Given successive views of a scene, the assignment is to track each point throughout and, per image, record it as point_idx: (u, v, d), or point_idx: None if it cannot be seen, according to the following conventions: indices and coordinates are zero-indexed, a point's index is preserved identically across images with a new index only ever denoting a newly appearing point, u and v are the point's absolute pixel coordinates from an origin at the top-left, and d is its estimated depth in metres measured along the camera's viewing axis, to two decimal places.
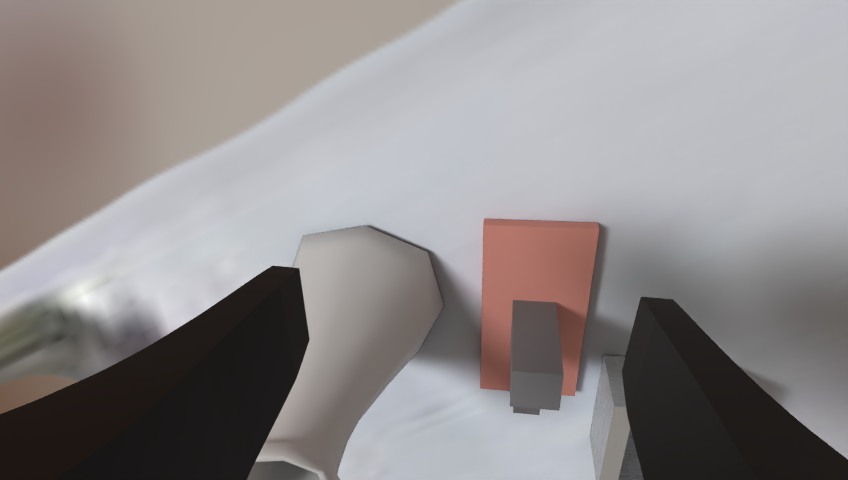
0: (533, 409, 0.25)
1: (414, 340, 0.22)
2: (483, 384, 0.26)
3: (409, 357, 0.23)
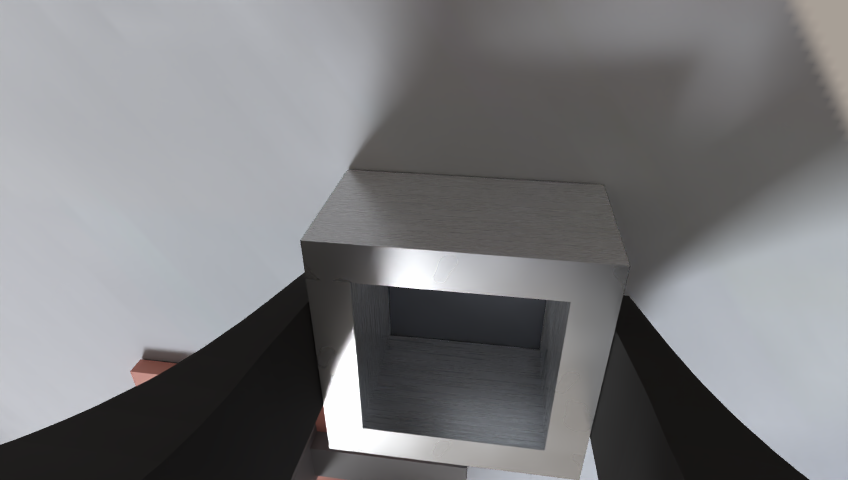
0: (452, 472, 0.15)
1: None
2: None
3: None
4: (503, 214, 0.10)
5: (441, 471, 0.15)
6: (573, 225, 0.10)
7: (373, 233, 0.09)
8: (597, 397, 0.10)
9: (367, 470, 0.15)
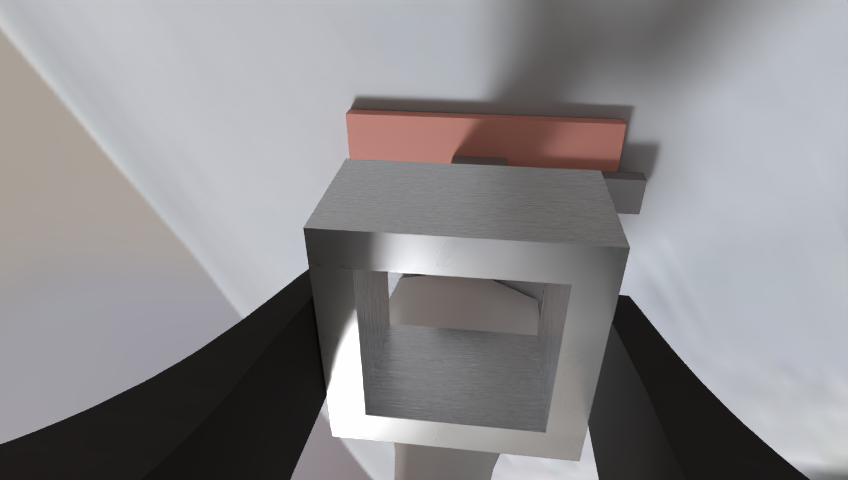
0: (632, 187, 0.17)
1: None
2: None
3: (510, 330, 0.20)
4: (503, 199, 0.10)
5: (622, 187, 0.17)
6: (572, 209, 0.10)
7: (375, 220, 0.09)
8: (597, 378, 0.10)
9: None
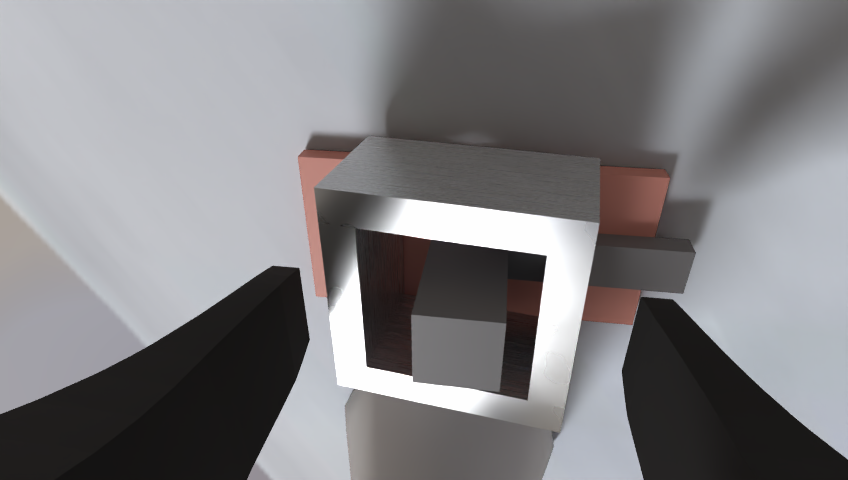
0: (676, 260, 0.13)
1: (449, 434, 0.15)
2: (623, 319, 0.15)
3: (511, 429, 0.15)
4: (497, 176, 0.11)
5: (662, 259, 0.13)
6: (558, 189, 0.10)
7: (377, 185, 0.11)
8: (574, 350, 0.11)
9: None
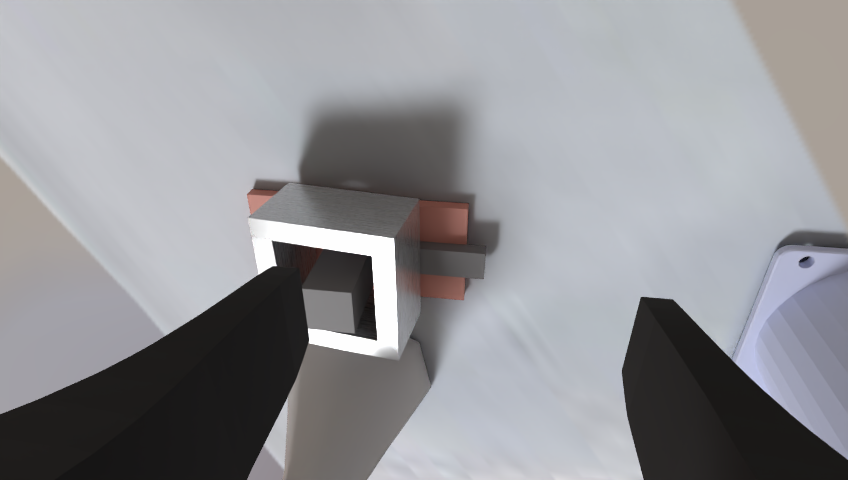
0: (475, 259, 0.21)
1: (347, 370, 0.23)
2: (457, 296, 0.23)
3: (390, 369, 0.24)
4: (353, 210, 0.19)
5: (467, 258, 0.21)
6: (383, 218, 0.19)
7: (283, 216, 0.19)
8: (396, 309, 0.19)
9: None
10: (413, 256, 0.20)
